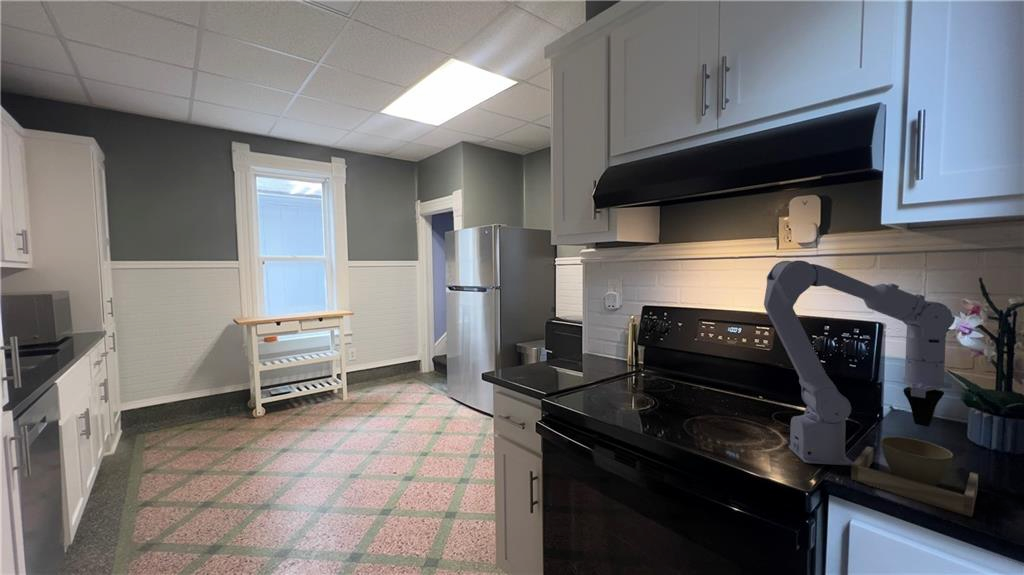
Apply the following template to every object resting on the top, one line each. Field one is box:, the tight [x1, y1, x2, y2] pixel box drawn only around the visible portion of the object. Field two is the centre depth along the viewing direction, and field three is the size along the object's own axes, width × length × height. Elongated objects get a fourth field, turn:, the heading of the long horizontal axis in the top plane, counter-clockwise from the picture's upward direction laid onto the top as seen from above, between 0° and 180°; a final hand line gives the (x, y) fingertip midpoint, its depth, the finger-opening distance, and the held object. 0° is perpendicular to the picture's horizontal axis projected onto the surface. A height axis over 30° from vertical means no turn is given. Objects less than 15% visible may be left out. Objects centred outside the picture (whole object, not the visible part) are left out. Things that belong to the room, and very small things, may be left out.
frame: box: [850, 446, 979, 518], centre depth 80 cm, size 13×16×3 cm
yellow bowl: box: [880, 436, 954, 487], centre depth 81 cm, size 10×10×7 cm
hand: (922, 424), depth 86 cm, fingers closed
